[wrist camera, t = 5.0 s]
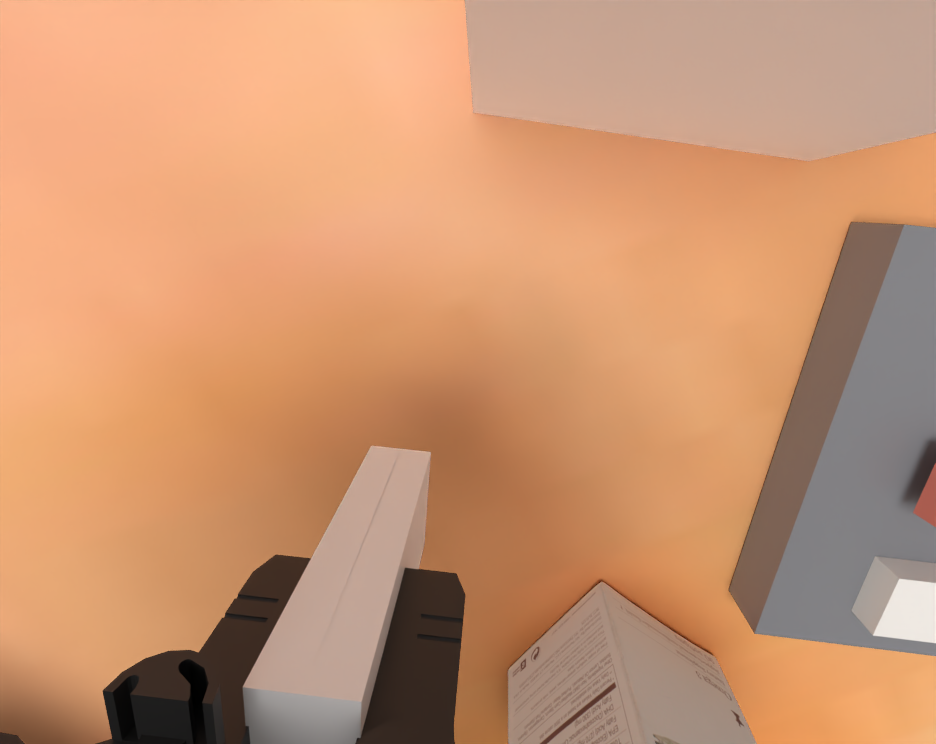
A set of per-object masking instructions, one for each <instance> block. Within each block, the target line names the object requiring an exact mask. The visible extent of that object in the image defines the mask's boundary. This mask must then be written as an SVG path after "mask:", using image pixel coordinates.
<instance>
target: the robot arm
mask: <svg viewBox="0 0 936 744" xmlns="http://www.w3.org/2000/svg"><path fill="white" fill-rule="evenodd" d="M430 460H431V452H427V451H418V450H408V449H399V448H390V447H381V446H371V447H370V449H369V451H368V453H367V454H366V456H365V458H364V460H363V462H362V464H361V466H360V468H359V470H358V471H357V473H356V475H355V477H354V479H353V481H352V483H351V485H350V486H349V488H348V490H347V492H346V494H345V496H344V498H343V500H342V501H341V503H340V505H339V507H338V509H337V511H336V513H335V515H334V516H333V518H332V520H331V522H330V524H329V526H328V528H327V530H326V531H325V533H324V535H323V537H322V539H321V541H320V543H319V545H318V546H317V548H316V550H315V552H314V554H313V556H312V558H311V559H310V558H301V557H292V556H284V555H275V556H273V557H272V558H271V559H269V560H268V561H267V562H266V563H264V564H263V565H262V566H260V567H259V568H258V569H256V570H255V571H254V572H253V573H252V574H251V576H250V577H249V579H248V580H247V582H246V583H245V585H244V586H243V588H242V589H241V591H240V592H239V594H238V597H237V599H234V601H233V602H232V604H231V605H230V607H229V608H228V610H227V611H226V613H225V617H224V618H222V619H221V620H220V622H219V623H218V625H217V626H216V628H215V629H214V631H213V632H212V634H211V635H210V637H209V638H208V640H207V641H206V643H205V644H204V646H203V647H202V649H201V650H200V652H199V653H198V652H195V651H192V650H180V651H167V652H164V653H161V654H158V655H155V656H152V657H149V658H146V659H144V660H142V661H140V662H139V663H137V664H135V665H134V666H132V667H130V668H129V669H127V670H125V671H123V672H122V673H121V674H120V675H119V676H118V677H117V678H116V679H115V680H114V681H112V682H111V683H110V684H109V685H108V686H107V687H106V688H105V689H104V690H103V695H104V700H105V705H106V710H107V715H108V720H109V725H110V729H111V734H112V739H110V740H107V741H104V742H100V743H97V744H455V742H454V715H455V704H456V693H457V682H458V671H459V659H460V648H461V637H462V626H463V615H464V604H465V593H464V591H463V588H462V586H461V583H460V581H459V579H458V576H457V574H456V573H447V572H439V571H430V570H421V569H419V566H420V562H421V557H422V553H423V548H424V544H425V530H426V516H427V502H428V488H429V474H430ZM0 744H24V743H23V741H22V740H21V739H20V738H19V737H18V736H17V735H12V734H6V733H0Z"/></svg>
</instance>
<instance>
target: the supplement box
mask: <svg viewBox="0 0 936 744" xmlns="http://www.w3.org/2000/svg"><path fill="white" fill-rule="evenodd" d="M508 744H757V743H756V741H755V739H754V737H753V735H752V732H751V730H750V728H749V726H748V724H747V722H746V720H745V718H744V716H743V714H742V711H741V709H740V707H739V705H738V703H737V701H736V698H735V696H734V694H733V692H732V690H731V688H730V686H729V684H728V682H727V680H726V678H725V676H724V674H723V672H722V669H721V667H720V665H719V663H718V661H717V659H716V658H715V657H714V656H713V655H711V654H709V653H708V652H706V651H704V650H702V649H701V648H699V647H697V646H696V645H694V644H692V643H691V642H689V641H688V640H686V639H684V638H683V637H681V636H680V635H678V634H677V633H675V632H673V631H672V630H670V629H669V628H668V627H666V626H665V625H663V624H662V623H660V622H659V621H657V620H656V619H654V618H653V617H652V616H650V615H649V614H647V613H646V612H644V611H643V610H642V609H640V608H639V607H637V606H636V605H634V604H633V603H631V602H630V601H629V600H627V599H626V598H624V597H623V596H622V595H620V594H619V593H618V592H616V591H615V590H614V589H612V588H611V587H609V586H608V585H607V584H605V583H604V582H600V583H599V584H597V585H596V586H595V587H594V588H593V589H592V590H591V591H590V592H588V593H587V594H586V595H585V596H584V597H583V598H582V599H581V600H580V601H579V602H578V603H577V604H576V605H575V606H573V607H572V608H571V609H570V610H569V611H568V612H567V613H566V614H565V615H564V616H563V617H562V618H561V619H560V620H559V621H557V622H556V623H555V624H554V625H553V626H552V627H551V628H550V629H549V630H548V631H547V632H546V633H545V634H544V635H543V636H542V637H541V638H540V639H539V640H537V641H536V642H535V643H534V644H533V645H532V646H531V647H530V648H529V649H528V650H527V651H526V652H525V653H524V654H523V655H522V656H521V657H520V658H519V659H518V660H517V661H516V662H515V663H514V664H513V665H512V666H511V667H510V668H509V670H508Z"/></svg>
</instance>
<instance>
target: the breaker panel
mask: <svg viewBox="0 0 936 744" xmlns="http://www.w3.org/2000/svg"><path fill="white" fill-rule="evenodd" d="M935 463H936V228H931V227H922V226H912V225H901V224H881V223H860V222H851V225H850V228H849V231H848V234H847V237H846V240H845V243H844V246H843V249H842V252H841V255H840V258H839V261H838V264H837V267H836V270H835V273H834V276H833V279H832V282H831V285H830V288H829V291H828V294H827V297H826V300H825V303H824V306H823V309H822V312H821V315H820V318H819V321H818V324H817V327H816V330H815V333H814V336H813V339H812V342H811V345H810V348H809V351H808V354H807V357H806V360H805V363H804V366H803V369H802V372H801V375H800V378H799V381H798V384H797V387H796V390H795V393H794V396H793V399H792V402H791V405H790V408H789V411H788V414H787V417H786V420H785V423H784V426H783V429H782V432H781V435H780V438H779V441H778V444H777V447H776V450H775V453H774V456H773V459H772V462H771V465H770V468H769V471H768V474H767V477H766V480H765V483H764V486H763V489H762V492H761V495H760V498H759V501H758V504H757V507H756V510H755V513H754V516H753V519H752V522H751V525H750V528H749V531H748V534H747V537H746V540H745V543H744V546H743V549H742V552H741V555H740V558H739V561H738V564H737V567H736V570H735V573H734V576H733V579H732V582H731V585H730V588H729V592H730V593H731V595H732V597H733V598H734V600H735V602H736V603H737V605H738V607H739V608H740V610H741V612H742V613H743V615H744V617H745V618H746V620H747V622H748V623H749V625H750V627H751V628H752V630H753V632H754V634H762V635H770V636H778V637H787V638H795V639H803V640H811V641H819V642H827V643H835V644H843V645H851V646H859V647H867V648H875V649H883V650H891V651H899V652H907V653H915V654H923V655H931V656H936V527H934V526H933V525H931V524H930V523H928V522H927V521H925V520H923V519H922V518H920V517H919V516H917V515H916V514H914V513H913V511H914V509H915V507H916V505H917V502H918V500H919V498H920V496H921V494H922V491H923V489H924V487H925V485H926V483H927V480H928V478H929V476H930V474H931V471H932V469H933V467H934V465H935Z"/></svg>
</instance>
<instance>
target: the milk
mask: <svg viewBox="0 0 936 744" xmlns="http://www.w3.org/2000/svg"><path fill="white" fill-rule="evenodd" d="M465 10H466V23H467V37H468V50H469V64H470V77H471V90H472V104H473V113H480V114H487V115H493V116H500V117H507V118H514V119H521V120H528V121H535V122H542V123H548V124H555V125H562V126H569V127H576V128H583V129H590V130H597V131H604V132H610V133H617V134H624V135H631V136H638V137H645V138H652V139H659V140H665V141H672V142H679V143H686V144H693V145H700V146H707V147H714V148H720V149H727V150H734V151H741V152H748V153H755V154H762V155H769V156H776V157H782V158H789V159H796V160H803V161H813V160H817V159H822V158H826V157H831V156H835V155H839V154H844V153H848V152H852V151H857V150H861V149H866V148H870V147H874V146H879V145H883V144H887V143H892V142H896V141H900V140H905V139H909V138H914V137H918V136H922V135H927V134H931V133H935V132H936V0H465Z"/></svg>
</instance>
